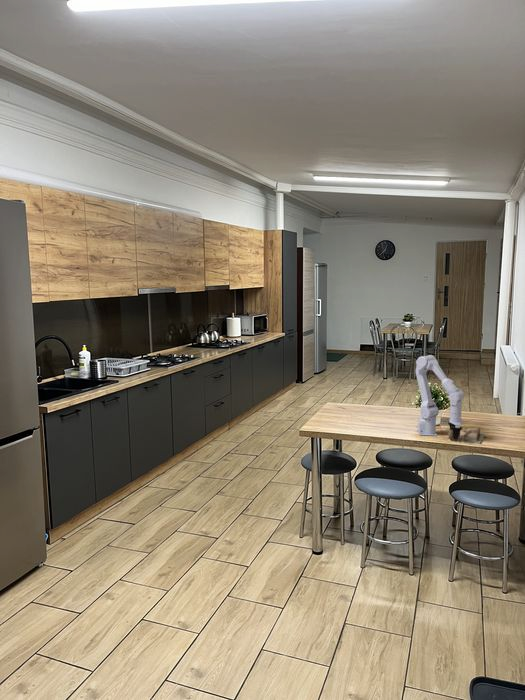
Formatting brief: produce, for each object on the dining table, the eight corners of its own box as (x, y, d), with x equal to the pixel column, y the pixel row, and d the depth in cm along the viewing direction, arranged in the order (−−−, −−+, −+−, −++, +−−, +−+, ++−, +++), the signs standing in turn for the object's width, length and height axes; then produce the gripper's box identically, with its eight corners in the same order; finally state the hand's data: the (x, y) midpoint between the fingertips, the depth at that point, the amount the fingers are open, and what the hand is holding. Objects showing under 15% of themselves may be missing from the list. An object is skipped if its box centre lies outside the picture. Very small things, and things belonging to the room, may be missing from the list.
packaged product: (480, 436, 286) (460, 433, 291) (480, 445, 287) (460, 442, 292) (484, 427, 302) (465, 425, 307) (484, 436, 303) (465, 434, 307)
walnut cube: (450, 441, 292) (450, 432, 292) (448, 438, 297) (448, 429, 297) (459, 441, 292) (460, 432, 291) (458, 439, 297) (458, 430, 296)
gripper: (466, 416, 285) (465, 441, 287) (460, 409, 299) (459, 434, 301) (452, 415, 286) (451, 441, 288) (447, 409, 300) (446, 433, 302)
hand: (454, 437), depth 294 cm, fingers open, 6 cm apart
